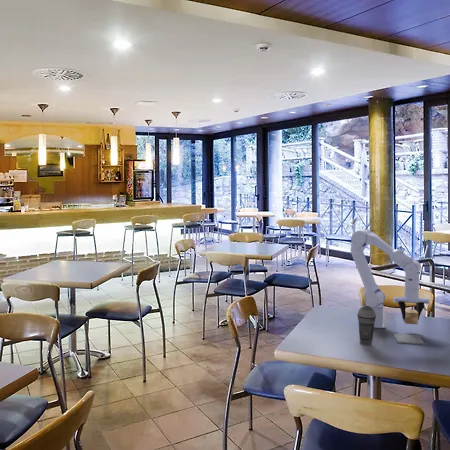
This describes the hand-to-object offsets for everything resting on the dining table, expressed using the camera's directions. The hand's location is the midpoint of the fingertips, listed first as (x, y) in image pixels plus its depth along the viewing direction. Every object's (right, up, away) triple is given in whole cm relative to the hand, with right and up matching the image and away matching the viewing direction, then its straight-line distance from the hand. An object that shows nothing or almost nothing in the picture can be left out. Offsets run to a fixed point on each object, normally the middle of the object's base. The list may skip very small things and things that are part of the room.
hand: (410, 319), depth 204 cm
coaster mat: (-5, -7, -10) cm, 13 cm away
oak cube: (0, -1, 0) cm, 2 cm away
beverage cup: (-24, -7, -15) cm, 29 cm away
